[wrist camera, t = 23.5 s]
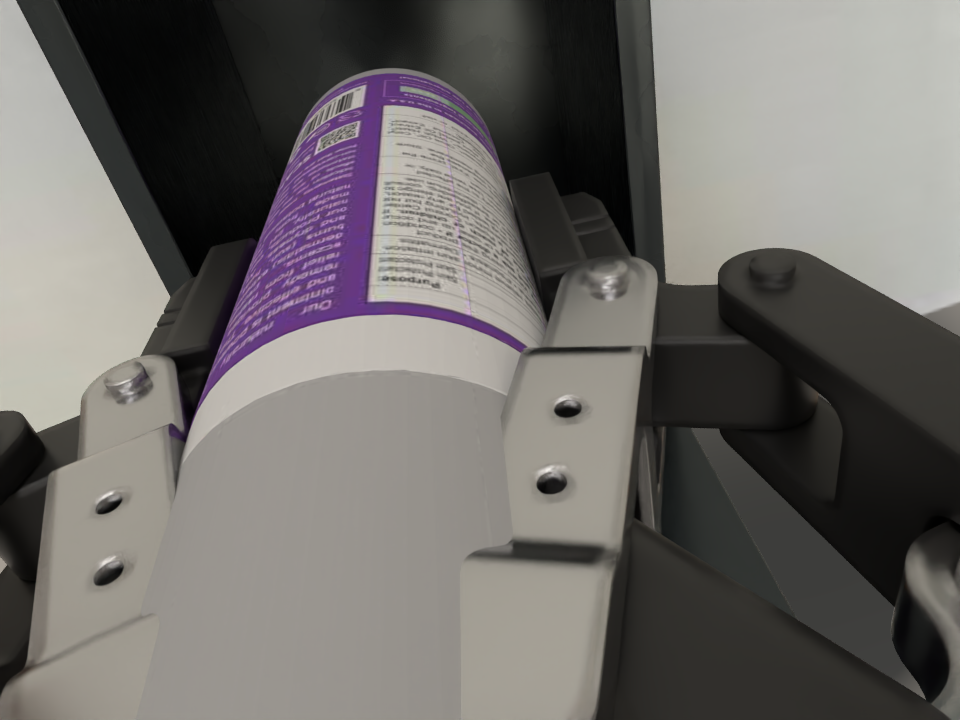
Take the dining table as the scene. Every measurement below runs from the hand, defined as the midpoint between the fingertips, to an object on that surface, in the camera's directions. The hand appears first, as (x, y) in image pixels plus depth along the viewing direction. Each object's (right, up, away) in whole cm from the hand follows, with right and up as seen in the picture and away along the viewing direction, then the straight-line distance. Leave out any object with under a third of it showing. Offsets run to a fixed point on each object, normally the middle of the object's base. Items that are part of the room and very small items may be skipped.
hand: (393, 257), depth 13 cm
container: (0, +3, +4) cm, 5 cm away
